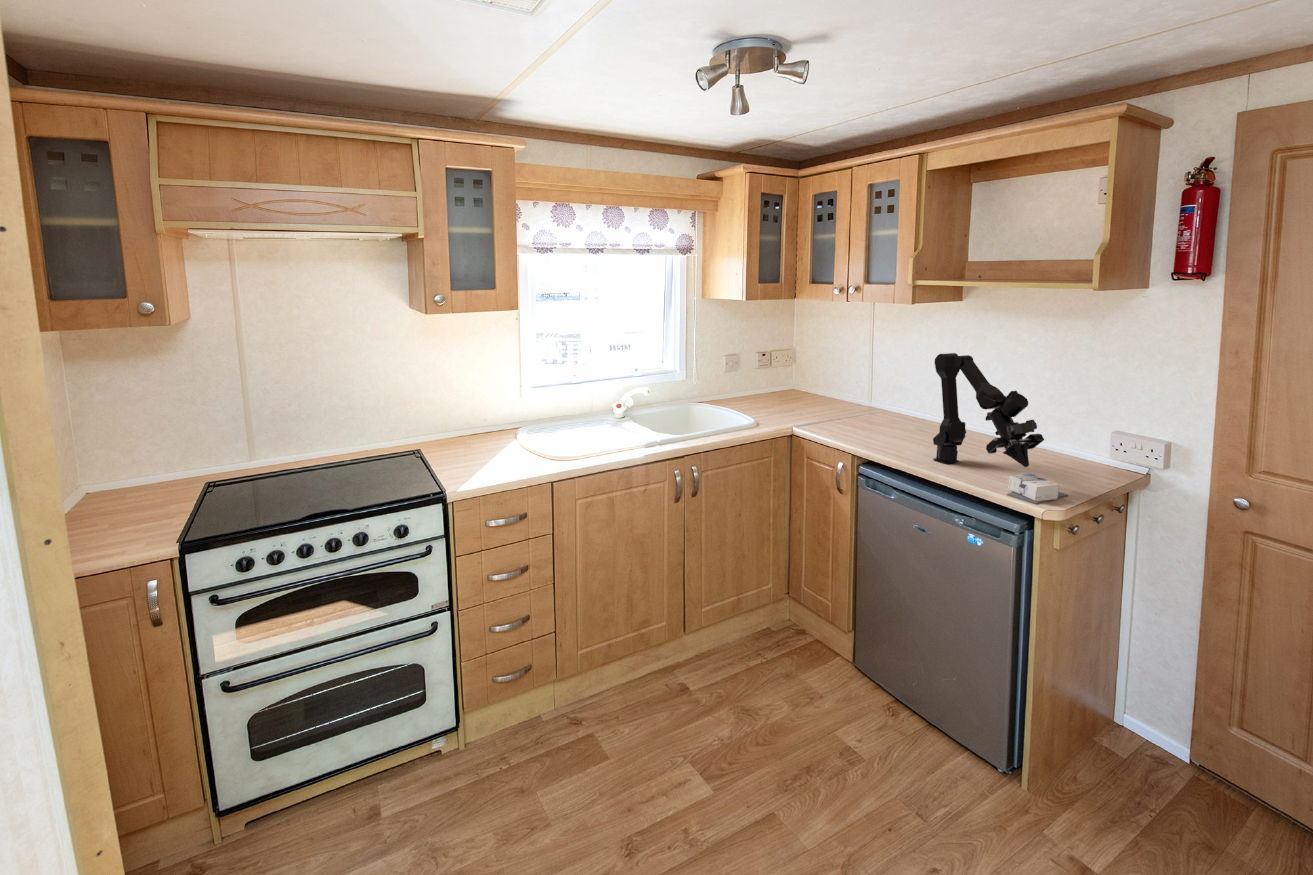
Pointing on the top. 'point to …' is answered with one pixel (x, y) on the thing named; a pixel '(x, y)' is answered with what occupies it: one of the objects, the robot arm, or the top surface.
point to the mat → (1031, 499)
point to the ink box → (1033, 487)
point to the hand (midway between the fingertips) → (1027, 466)
